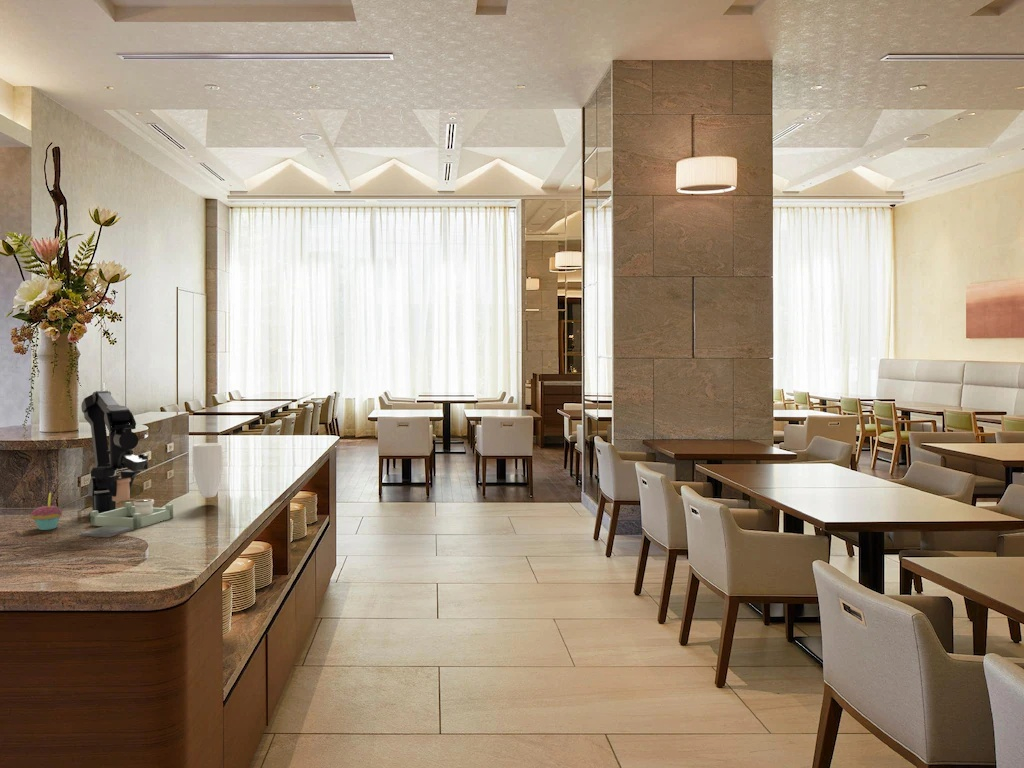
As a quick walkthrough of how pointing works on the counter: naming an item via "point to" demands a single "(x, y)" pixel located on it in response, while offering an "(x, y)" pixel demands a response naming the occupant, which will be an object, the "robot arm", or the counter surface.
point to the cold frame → (120, 519)
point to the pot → (144, 506)
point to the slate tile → (106, 531)
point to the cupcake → (46, 516)
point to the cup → (208, 467)
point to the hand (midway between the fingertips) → (120, 494)
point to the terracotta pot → (122, 489)
